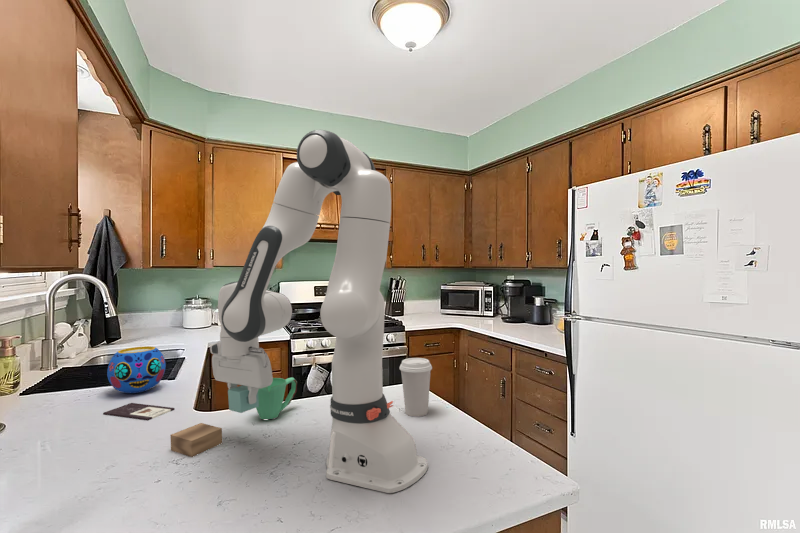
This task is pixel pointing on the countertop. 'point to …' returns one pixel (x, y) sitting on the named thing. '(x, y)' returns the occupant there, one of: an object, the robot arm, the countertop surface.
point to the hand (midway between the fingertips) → (243, 401)
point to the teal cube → (240, 399)
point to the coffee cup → (416, 385)
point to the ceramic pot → (136, 369)
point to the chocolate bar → (139, 411)
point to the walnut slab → (196, 439)
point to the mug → (275, 397)
